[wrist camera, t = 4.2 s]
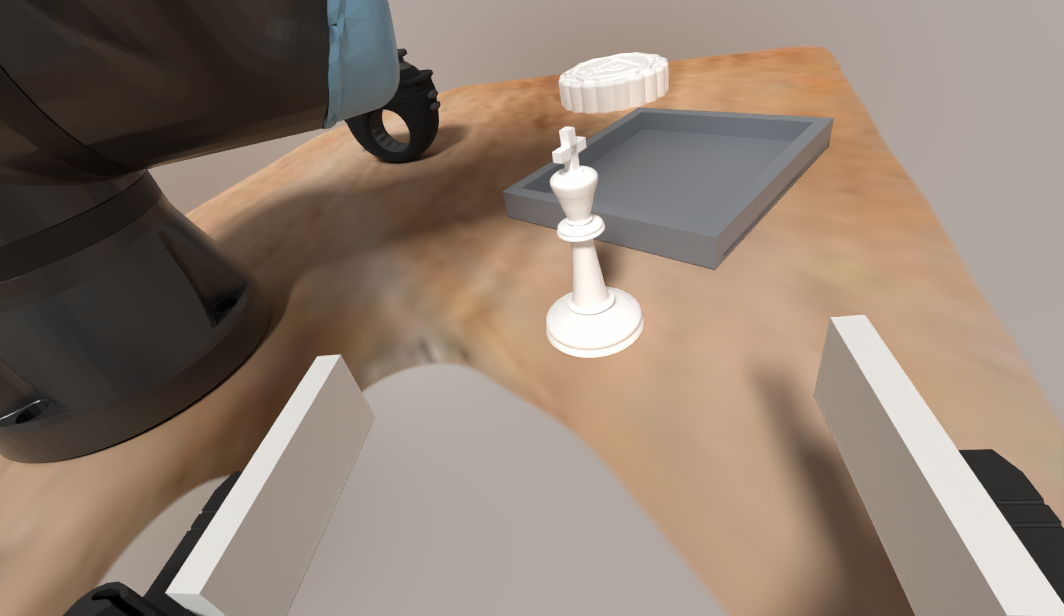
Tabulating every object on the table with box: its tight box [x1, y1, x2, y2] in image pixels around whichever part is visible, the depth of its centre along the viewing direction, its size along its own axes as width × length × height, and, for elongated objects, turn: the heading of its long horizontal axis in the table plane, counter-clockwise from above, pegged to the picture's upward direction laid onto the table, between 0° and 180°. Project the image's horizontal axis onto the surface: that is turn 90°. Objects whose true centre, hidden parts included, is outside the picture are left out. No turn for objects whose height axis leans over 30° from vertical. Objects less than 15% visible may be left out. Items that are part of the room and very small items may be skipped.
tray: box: [502, 108, 834, 270], centre depth 36 cm, size 16×18×2 cm
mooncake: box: [558, 52, 669, 114], centre depth 56 cm, size 12×12×4 cm
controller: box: [344, 49, 440, 162], centre depth 50 cm, size 4×12×10 cm, turn 74°
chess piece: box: [546, 127, 644, 358], centre depth 23 cm, size 5×5×10 cm
